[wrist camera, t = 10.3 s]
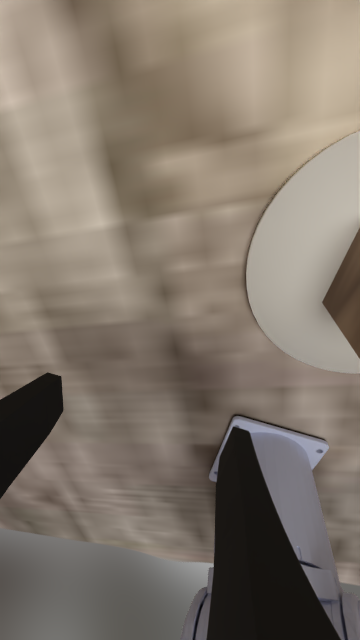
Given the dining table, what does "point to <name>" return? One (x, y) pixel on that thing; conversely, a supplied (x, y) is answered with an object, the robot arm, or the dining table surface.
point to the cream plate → (307, 257)
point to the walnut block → (347, 296)
